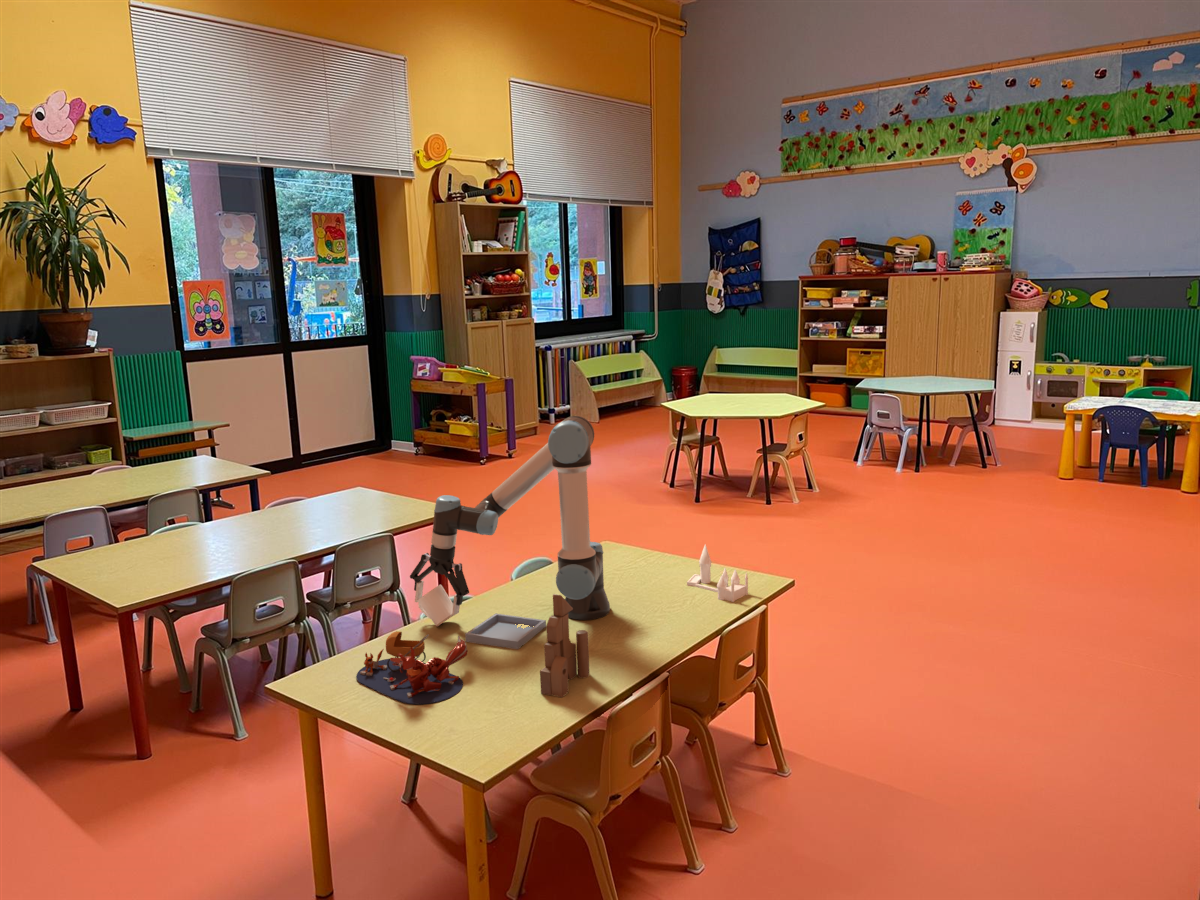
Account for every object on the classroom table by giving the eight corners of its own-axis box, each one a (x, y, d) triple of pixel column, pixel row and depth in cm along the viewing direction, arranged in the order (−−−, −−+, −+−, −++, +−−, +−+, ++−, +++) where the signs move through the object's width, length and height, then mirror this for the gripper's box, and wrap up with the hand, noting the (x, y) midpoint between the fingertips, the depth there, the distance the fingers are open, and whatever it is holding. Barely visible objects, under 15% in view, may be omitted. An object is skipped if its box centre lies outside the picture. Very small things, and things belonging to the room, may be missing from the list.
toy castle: (696, 582, 316) (695, 538, 313) (756, 597, 299) (756, 551, 296) (671, 593, 305) (670, 548, 302) (731, 609, 288) (731, 561, 286)
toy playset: (342, 675, 247) (338, 627, 245) (418, 645, 267) (415, 601, 264) (420, 711, 225) (417, 659, 222) (497, 675, 244) (495, 627, 242)
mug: (464, 607, 282) (445, 581, 283) (449, 618, 274) (430, 590, 275) (441, 623, 287) (423, 597, 288) (426, 634, 279) (408, 607, 280)
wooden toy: (562, 698, 229) (558, 606, 224) (540, 693, 232) (536, 602, 227) (591, 675, 242) (588, 587, 238) (570, 670, 245) (567, 584, 241)
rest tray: (546, 628, 276) (545, 620, 276) (518, 650, 260) (517, 641, 260) (496, 621, 284) (495, 613, 283) (465, 641, 267) (465, 633, 267)
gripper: (484, 552, 274) (477, 615, 279) (417, 531, 284) (411, 592, 288) (471, 558, 267) (464, 622, 272) (402, 537, 277) (396, 599, 282)
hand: (436, 608), depth 280 cm, fingers closed on mug, 13 cm apart
